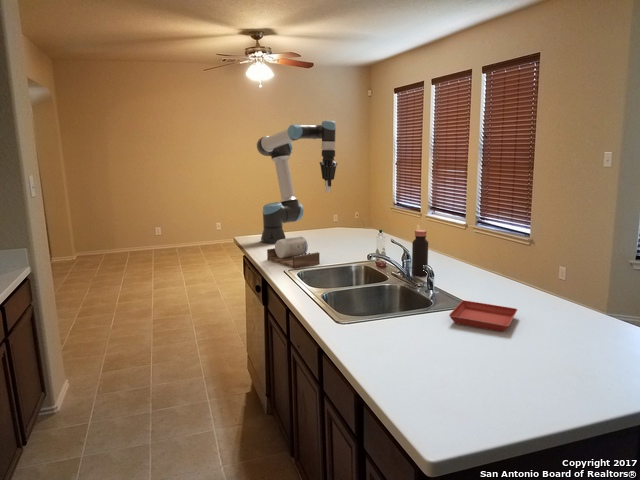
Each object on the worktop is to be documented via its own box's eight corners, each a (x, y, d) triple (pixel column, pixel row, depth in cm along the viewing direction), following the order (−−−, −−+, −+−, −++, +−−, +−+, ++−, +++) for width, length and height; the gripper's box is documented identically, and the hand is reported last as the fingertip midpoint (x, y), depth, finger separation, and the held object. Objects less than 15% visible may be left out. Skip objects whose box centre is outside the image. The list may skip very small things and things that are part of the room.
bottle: (409, 276, 208) (410, 231, 204) (414, 272, 214) (415, 228, 210) (424, 277, 205) (426, 232, 201) (429, 274, 211) (430, 230, 207)
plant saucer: (517, 317, 157) (518, 308, 156) (508, 335, 141) (508, 325, 141) (462, 308, 166) (462, 299, 165) (447, 325, 151) (448, 315, 150)
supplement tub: (296, 244, 252) (272, 248, 243) (302, 232, 246) (278, 235, 237) (304, 258, 247) (280, 262, 238) (310, 245, 241) (286, 249, 232)
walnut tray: (267, 259, 242) (267, 249, 241) (291, 255, 251) (291, 245, 250) (294, 268, 223) (294, 257, 222) (319, 263, 233) (319, 252, 232)
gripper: (341, 149, 259) (340, 192, 264) (326, 149, 269) (325, 190, 274) (330, 149, 255) (330, 193, 259) (315, 149, 265) (315, 191, 269)
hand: (328, 192), depth 267 cm, fingers closed
